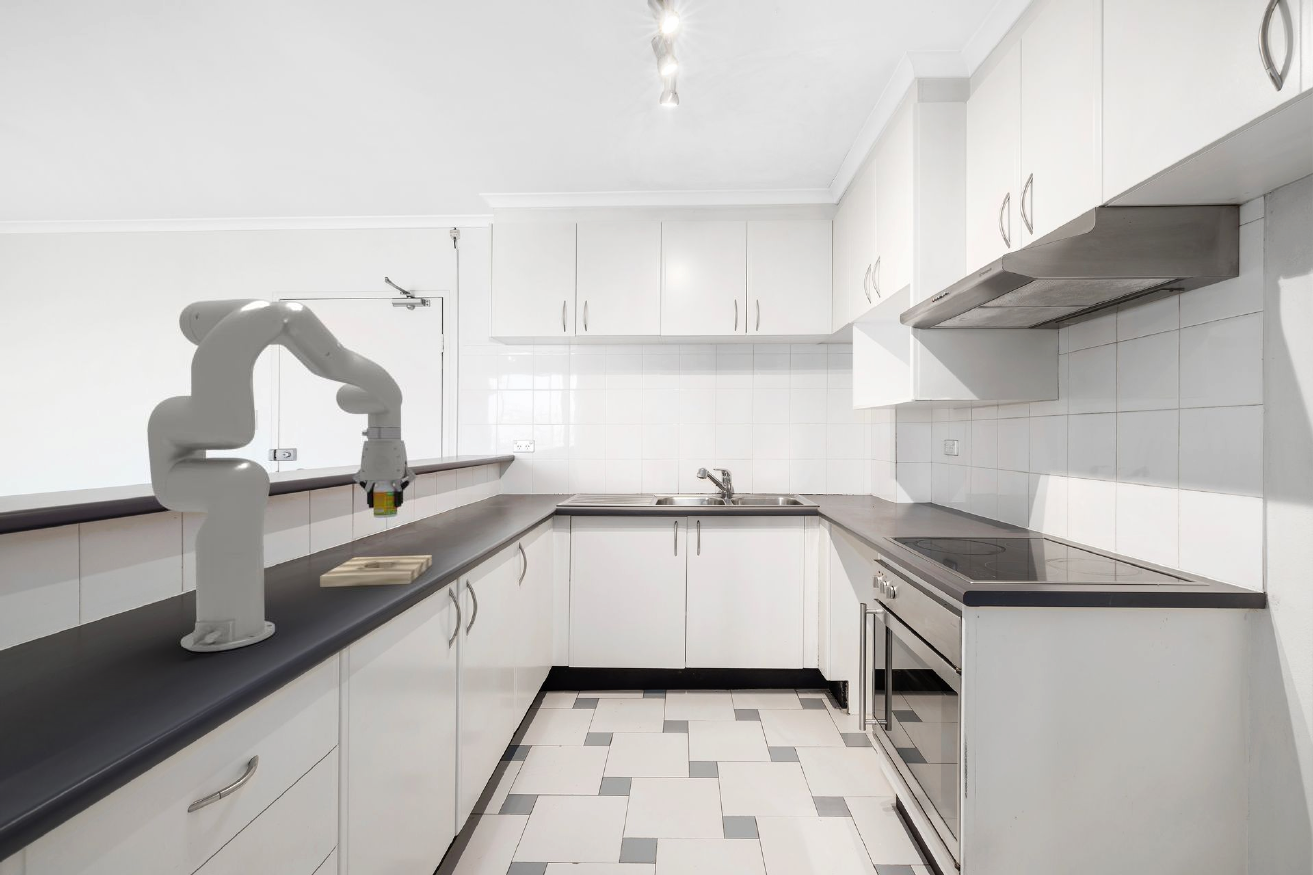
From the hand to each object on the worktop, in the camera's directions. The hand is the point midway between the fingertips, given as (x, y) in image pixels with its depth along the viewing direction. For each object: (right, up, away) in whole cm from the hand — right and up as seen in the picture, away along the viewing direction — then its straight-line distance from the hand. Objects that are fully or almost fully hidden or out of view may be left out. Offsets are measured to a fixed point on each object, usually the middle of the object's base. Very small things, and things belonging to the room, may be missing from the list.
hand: (385, 506), depth 143 cm
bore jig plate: (-2, -17, +1) cm, 18 cm away
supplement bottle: (0, -3, 0) cm, 3 cm away
